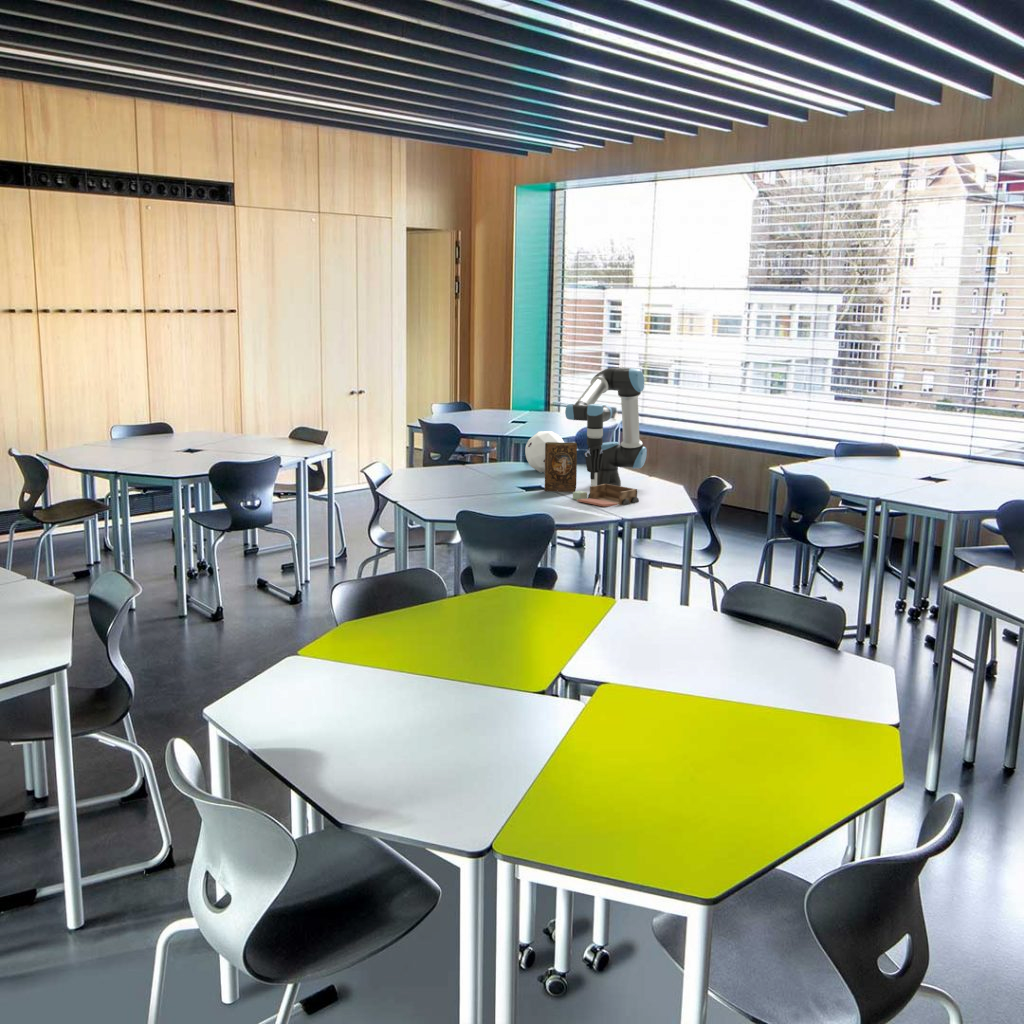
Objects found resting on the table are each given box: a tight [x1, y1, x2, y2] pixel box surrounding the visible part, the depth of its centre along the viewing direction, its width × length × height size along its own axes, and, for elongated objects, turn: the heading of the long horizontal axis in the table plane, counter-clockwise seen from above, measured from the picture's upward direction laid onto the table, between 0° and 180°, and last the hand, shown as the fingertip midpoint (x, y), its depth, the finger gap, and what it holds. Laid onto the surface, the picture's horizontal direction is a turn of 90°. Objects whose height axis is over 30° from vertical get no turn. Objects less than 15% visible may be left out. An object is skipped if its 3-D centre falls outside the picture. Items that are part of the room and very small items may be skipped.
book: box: [544, 442, 578, 493], centre depth 512 cm, size 16×6×25 cm, turn 84°
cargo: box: [572, 490, 588, 501], centre depth 488 cm, size 5×5×5 cm
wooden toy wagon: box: [587, 484, 640, 506], centre depth 485 cm, size 12×23×8 cm, turn 44°
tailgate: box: [576, 497, 619, 507], centre depth 478 cm, size 1×17×10 cm
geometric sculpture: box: [524, 430, 565, 473], centre depth 568 cm, size 25×25×25 cm
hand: (593, 485), depth 474 cm, fingers closed
